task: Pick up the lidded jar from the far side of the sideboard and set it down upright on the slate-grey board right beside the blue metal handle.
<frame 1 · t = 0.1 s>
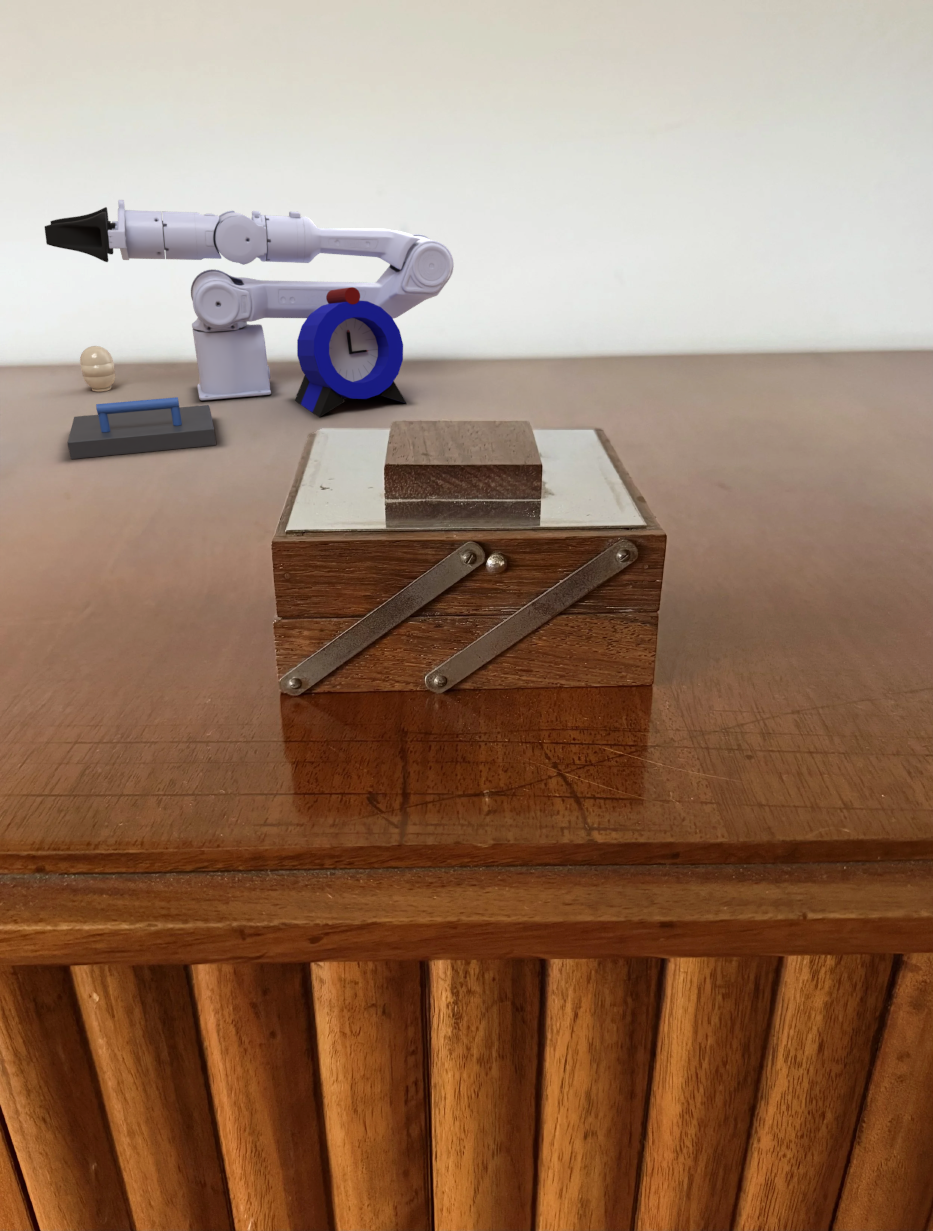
hand: (48, 232, 122), 22 cm above the table, tool horizontal, fingers open, 7 cm apart
alarm clock: (348, 402, 131), on the table
lidded jar: (101, 389, 139), on the table
handle board: (145, 438, 117), on the table
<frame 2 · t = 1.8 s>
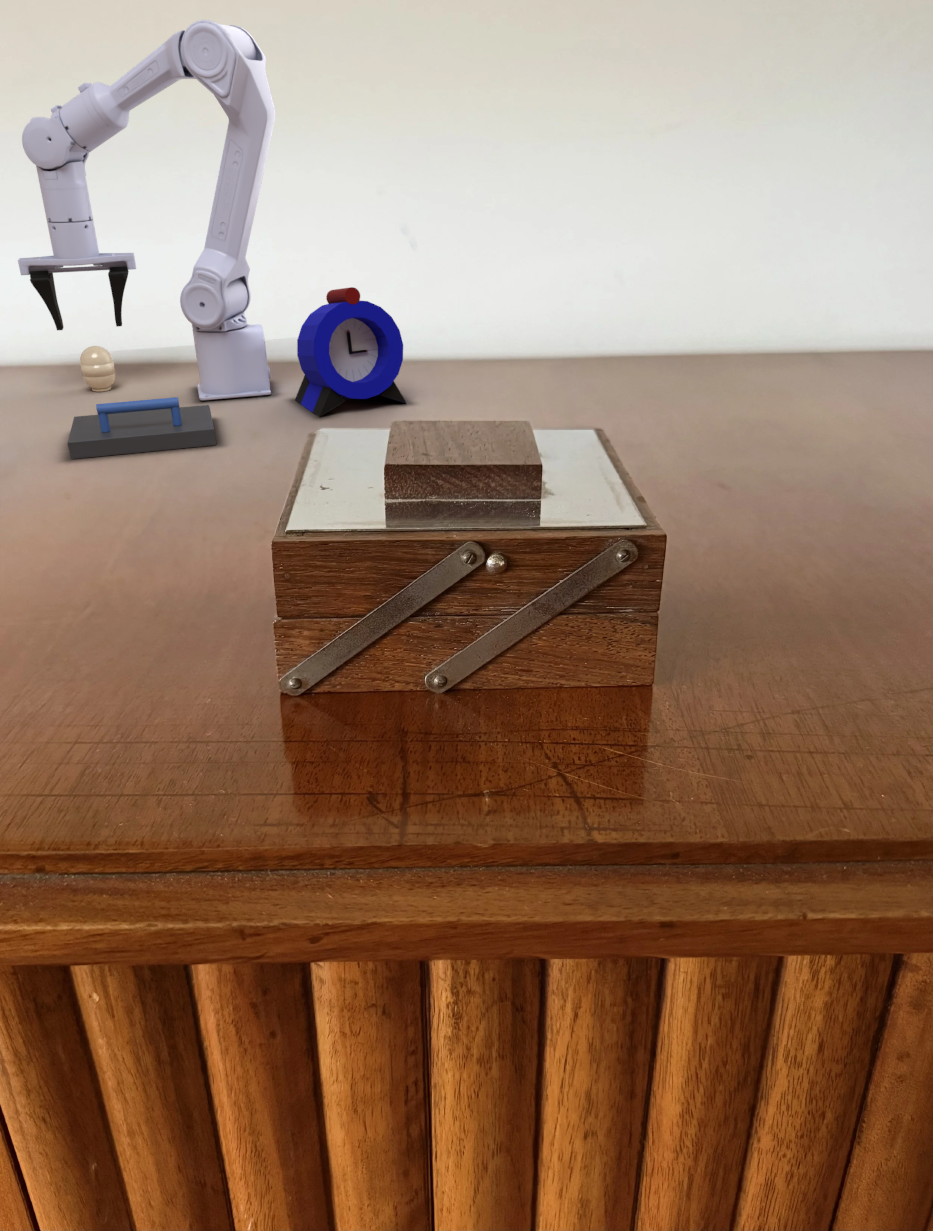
hand: (90, 326, 135), 9 cm above the table, tool pointing down, fingers open, 7 cm apart
nothing on the table moved.
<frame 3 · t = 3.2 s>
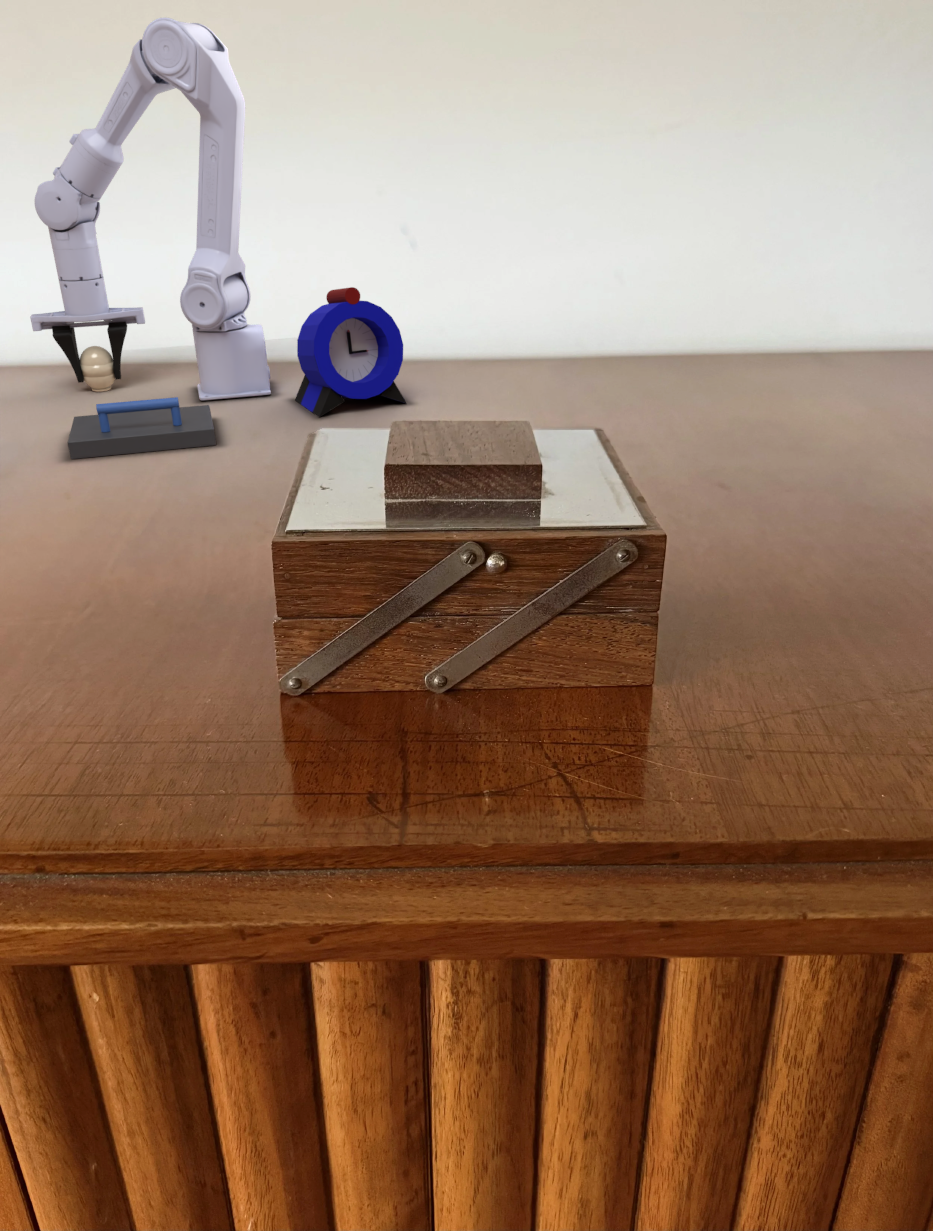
hand: (100, 379, 138), 1 cm above the table, tool pointing down, fingers closed on lidded jar, 4 cm apart
lidded jar: (101, 389, 139), on the table, touching gripper
everything else where it was.
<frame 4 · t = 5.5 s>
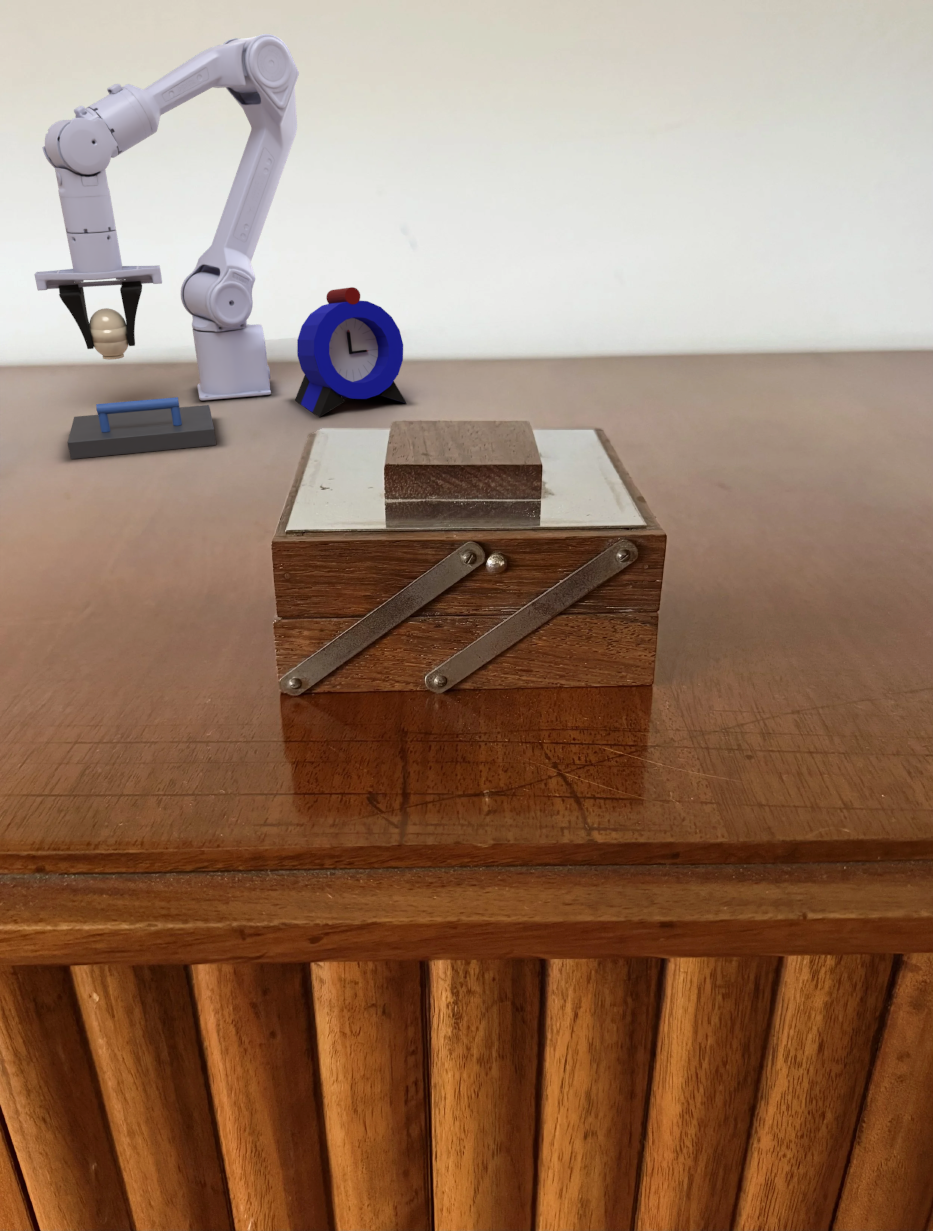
hand: (111, 345, 125), 8 cm above the table, tool pointing down, fingers closed on lidded jar, 4 cm apart
lidded jar: (113, 357, 125), point 7 cm above the table, touching gripper
everything else where it was.
when the fingers open (3 cm above the table, at t = 8.1 s): lidded jar stays where it is, resting on handle board.
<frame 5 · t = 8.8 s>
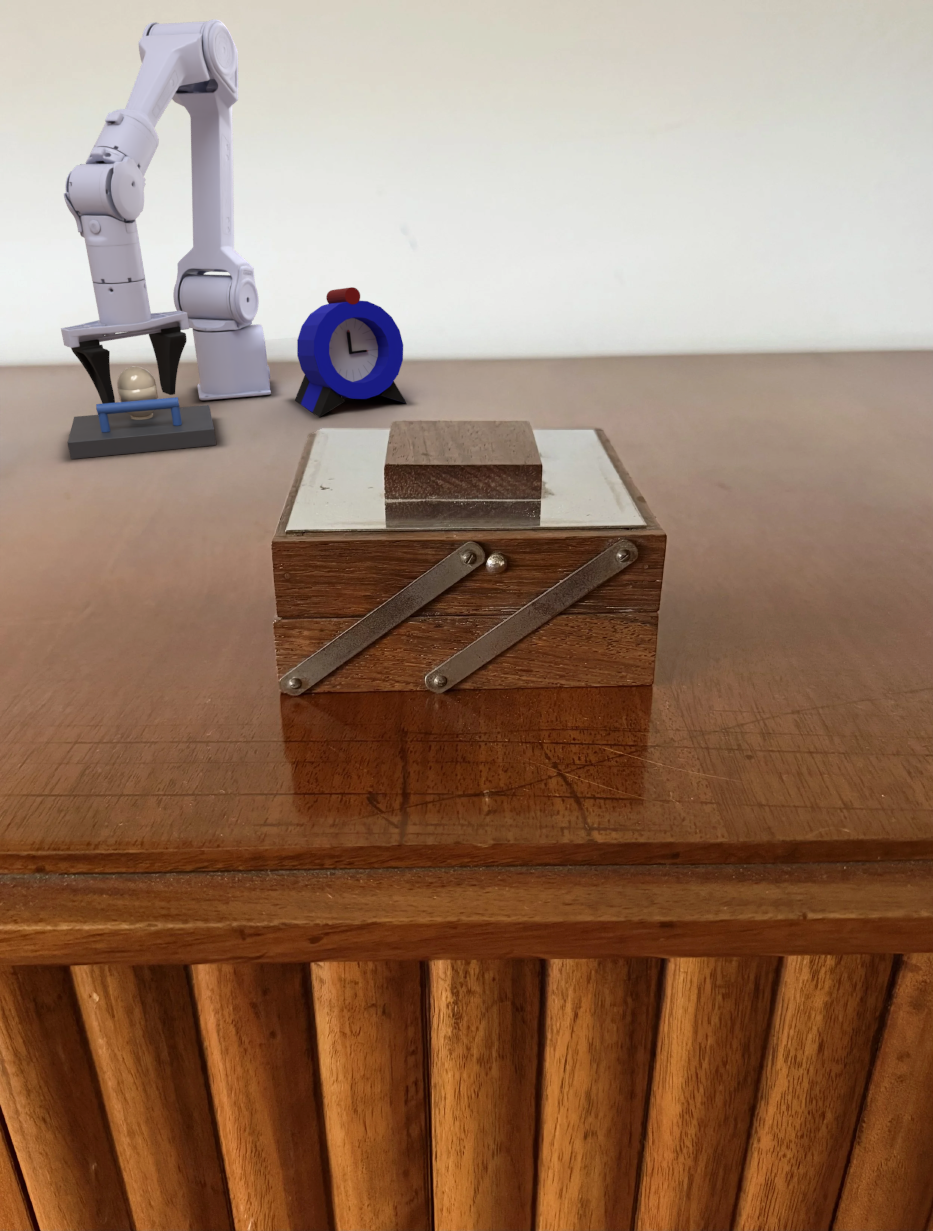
hand: (139, 399, 118), 4 cm above the table, tool pointing down, fingers open, 7 cm apart
lidded jar: (142, 416, 119), point 2 cm above the table, touching handle board
everything else where it was.
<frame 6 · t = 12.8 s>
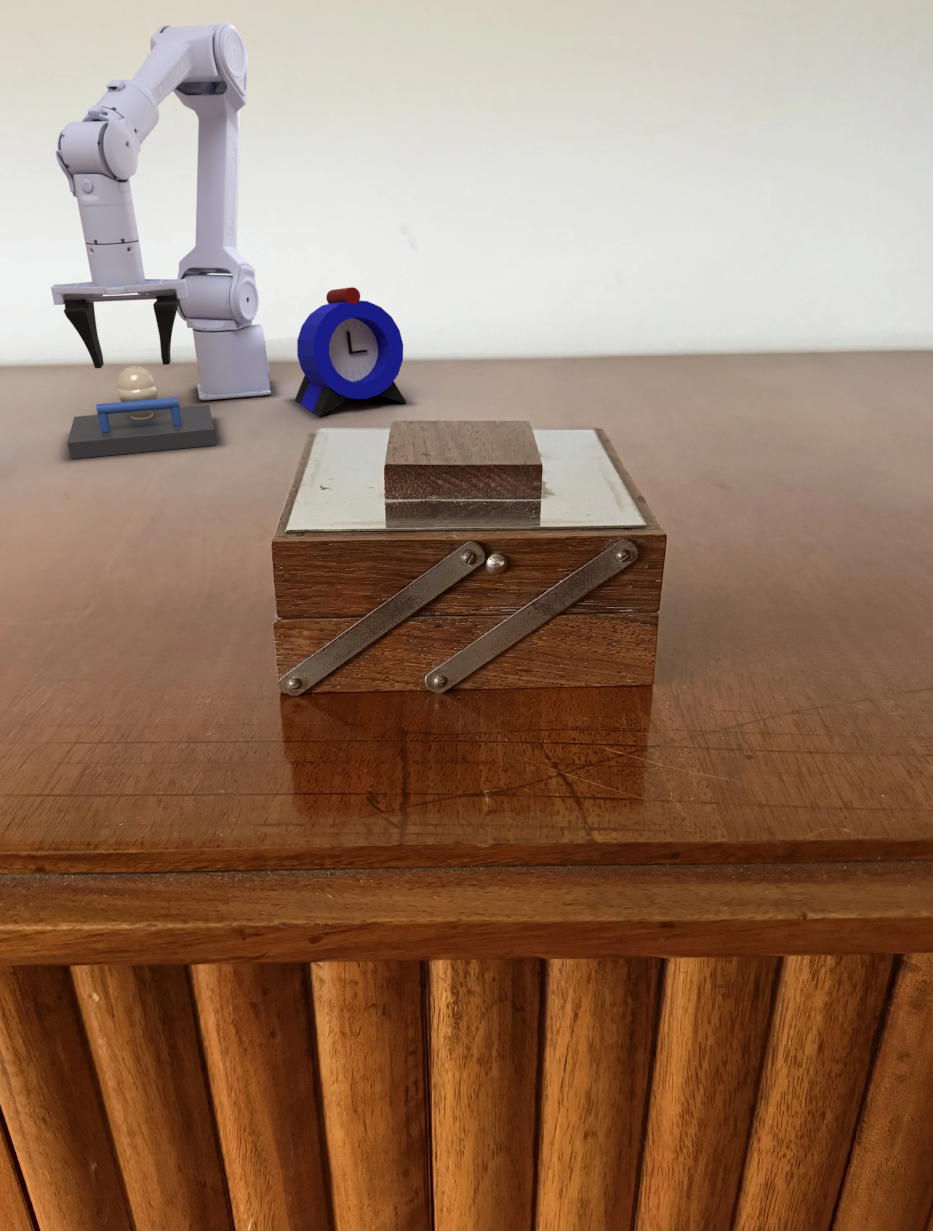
hand: (133, 364, 116), 8 cm above the table, tool pointing down, fingers open, 7 cm apart
nothing on the table moved.
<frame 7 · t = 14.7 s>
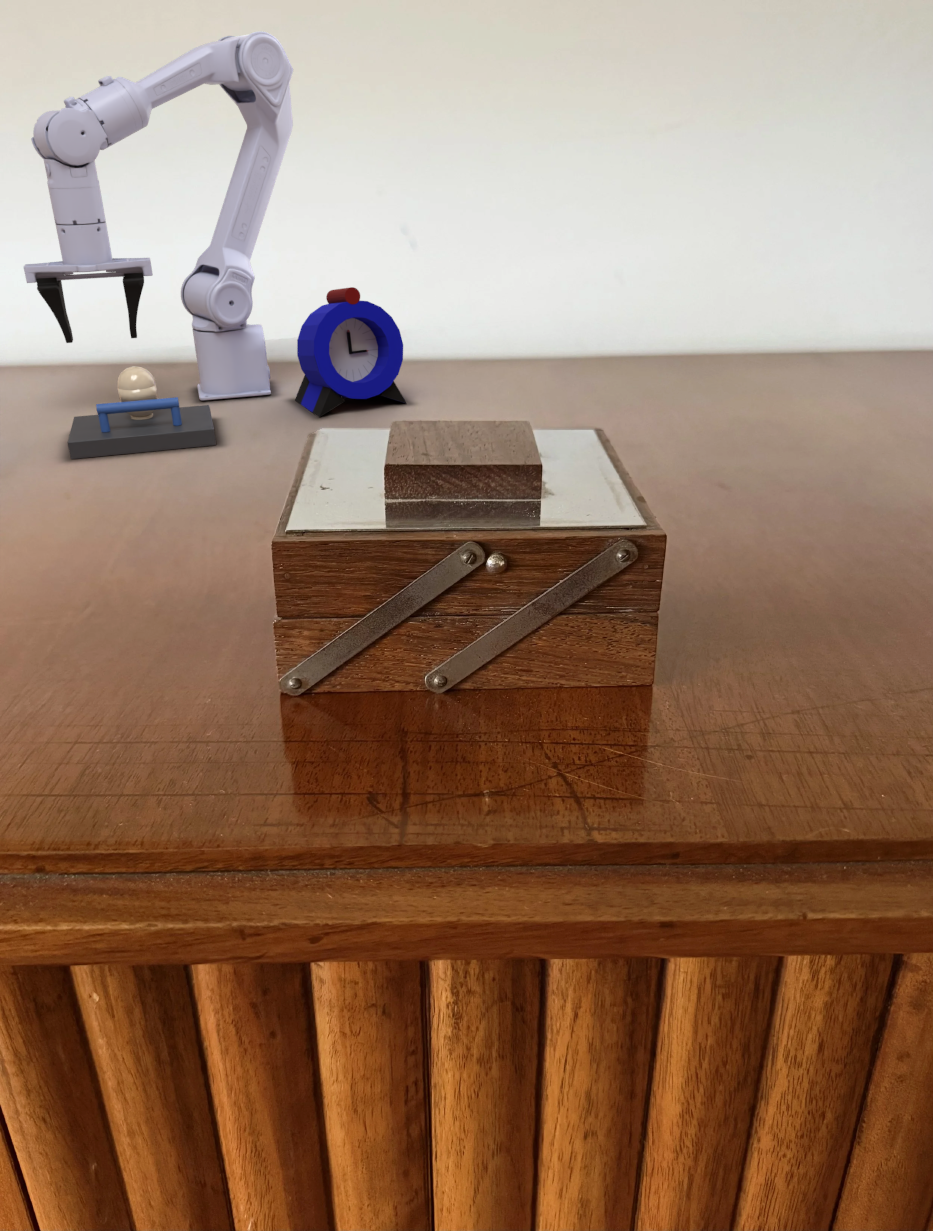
hand: (102, 338, 124), 9 cm above the table, tool pointing down, fingers open, 7 cm apart
nothing on the table moved.
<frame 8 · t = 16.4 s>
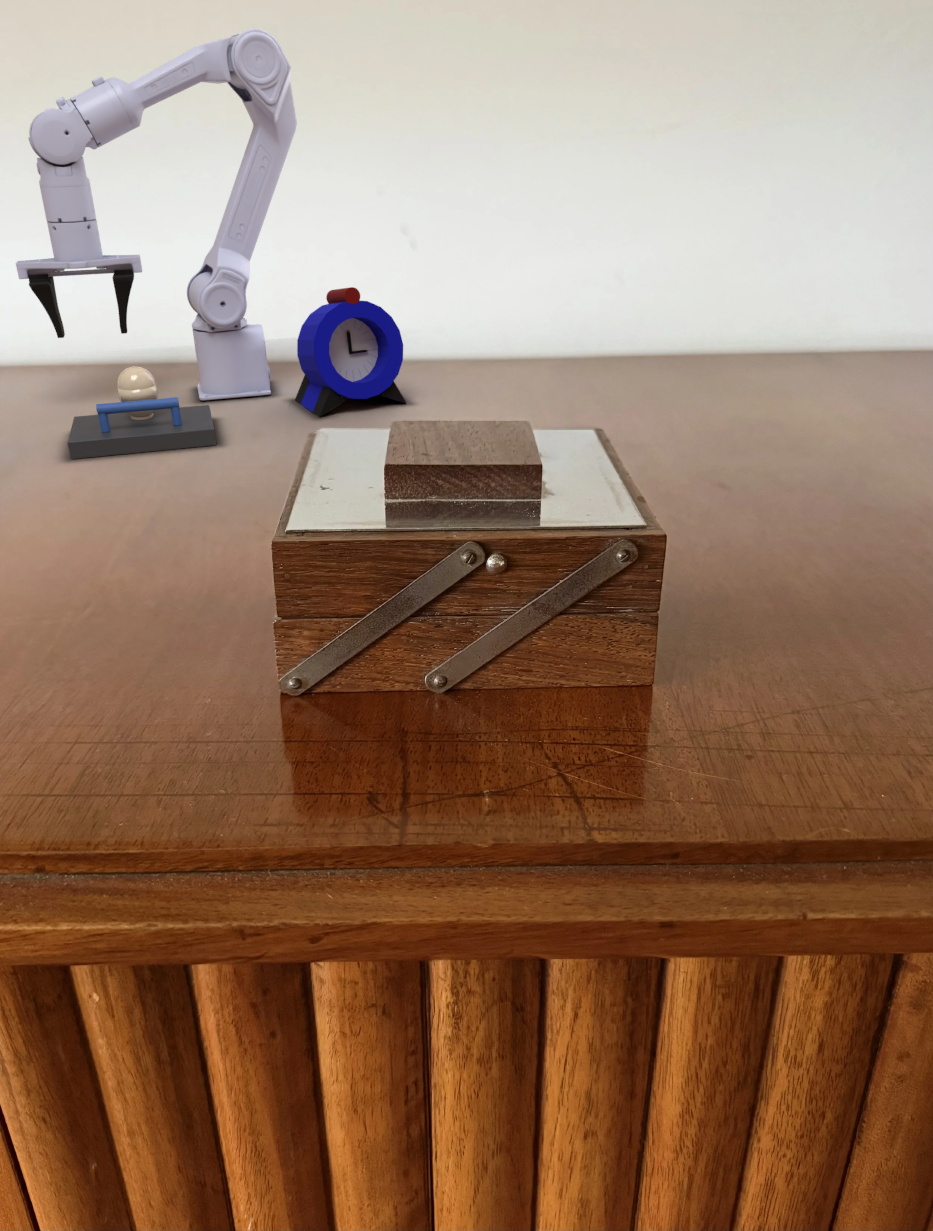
hand: (93, 334, 126), 9 cm above the table, tool pointing down, fingers open, 7 cm apart
nothing on the table moved.
at the end: lidded jar 0.2 cm from the target spot on the handle board, point 2.0 cm above the handle board's base; lidded jar tilted 0°; the gripper is holding nothing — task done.
